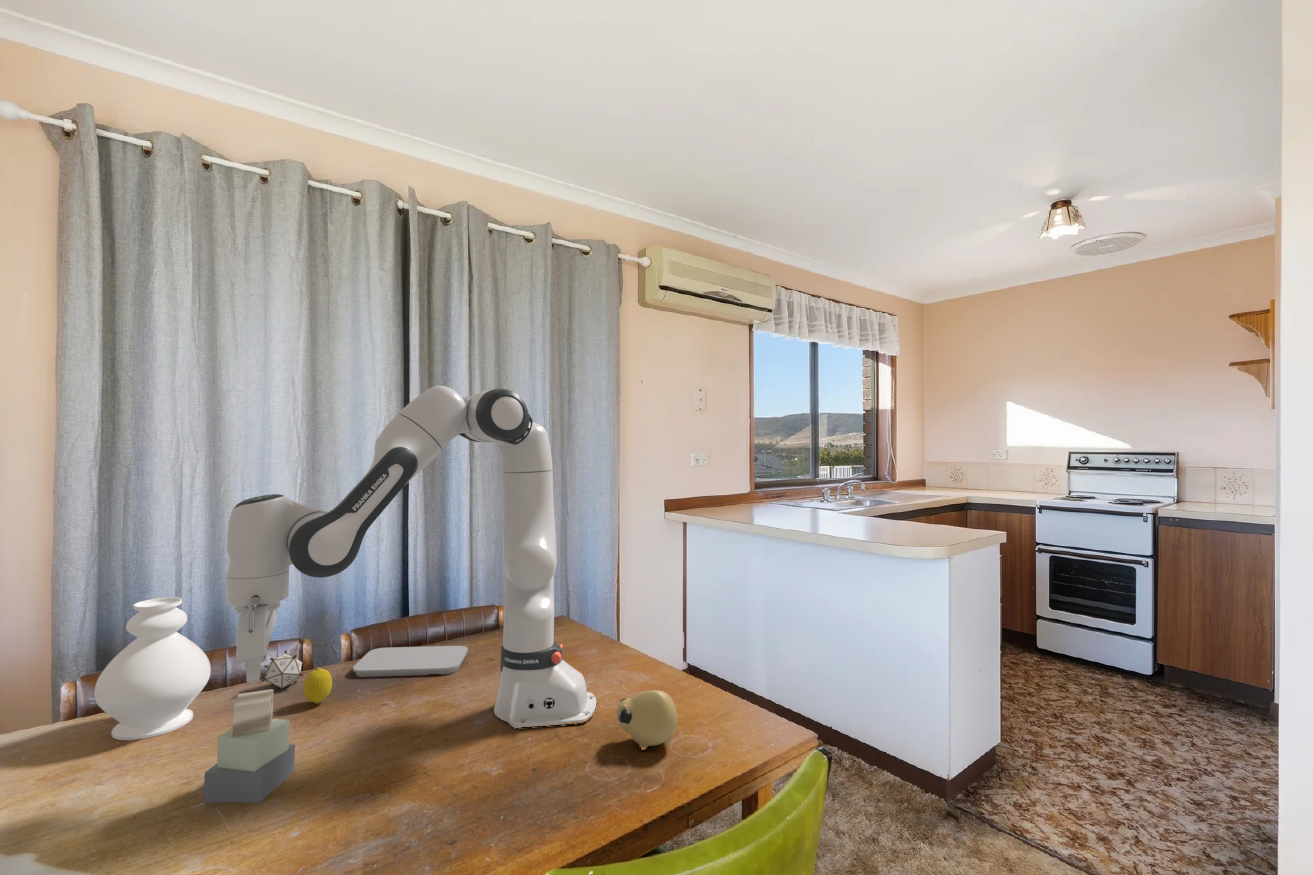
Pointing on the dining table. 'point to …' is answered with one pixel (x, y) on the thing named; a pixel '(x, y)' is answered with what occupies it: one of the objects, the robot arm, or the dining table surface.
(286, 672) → the game die
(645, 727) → the toy pig
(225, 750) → the sage top block
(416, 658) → the tablet
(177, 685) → the decorative vase
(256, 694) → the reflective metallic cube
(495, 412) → the robot arm
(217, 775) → the charcoal base block
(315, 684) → the lemon
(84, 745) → the dining table surface
